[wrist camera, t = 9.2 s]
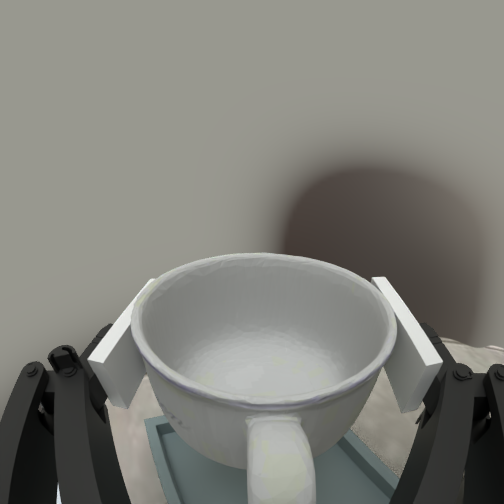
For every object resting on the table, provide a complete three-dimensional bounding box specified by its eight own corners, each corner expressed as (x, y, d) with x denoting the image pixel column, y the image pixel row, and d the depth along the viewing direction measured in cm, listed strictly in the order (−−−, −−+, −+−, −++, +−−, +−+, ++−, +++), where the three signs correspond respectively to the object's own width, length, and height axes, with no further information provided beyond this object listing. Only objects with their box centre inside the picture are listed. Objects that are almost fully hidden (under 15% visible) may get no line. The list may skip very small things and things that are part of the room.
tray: (296, 389, 28) (298, 372, 27) (407, 508, 11) (422, 499, 10) (152, 434, 22) (143, 419, 21) (225, 599, 5) (219, 604, 4)
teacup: (204, 344, 20) (188, 244, 17) (350, 352, 18) (368, 248, 15) (124, 508, 7) (19, 421, 4) (363, 543, 5) (470, 492, 2)
